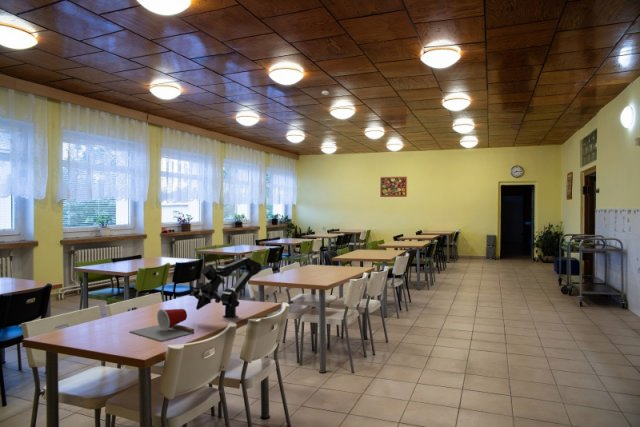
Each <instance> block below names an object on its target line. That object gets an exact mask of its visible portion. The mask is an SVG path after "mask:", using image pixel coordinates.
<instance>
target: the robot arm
mask: <svg viewBox="0 0 640 427" xmlns="http://www.w3.org/2000/svg"><path fill="white" fill-rule="evenodd" d="M243 267H245V271H244V272H243V273H242V275H241V276H240V278H239V279H237V281H236V282H235V283H234V284H233V286H232V287H231V288H225V289H224V291H223V292H222V293H221V295H219V294H218V293H217V292H218V291H219V290H218V289H219V287H220V286H221V284H223V285H225V283H226V281H225V278H227V277H229V276H230V275H232V273H233V272H234V271H236V270H239V269H240V268H243ZM261 271H262V264H261V263H260V262H257V261H255V260H253V259H251V258H250V257H246V256H245V257H242V258H240V259H238V260H235V261H233V262H231V263H229V264H223V265H218V266H216V268H215V267H214V266H213V265H212V264H208V265H207V266H204V267H203V268H202V269H201V272H200V273H201V274H202V275H203V276H204V277H205V279H206V280H207V282H198V281H197V282H196V285H195V289H192V290H191V291H190V294H191V295H192V296H193V297H194V298H195V299H197V303H196V307H195V309H196V311H197V310H198V311H199V310H201V309H202V308H203V307H205V306H207V305H209V304H212V300H214V303H216V304H219V303H221V305H222V306H225V307H224V315H222V318H227V317H233V316H236V315H237V313H236V312H237V308H238V307H239V306H240V301H239V300H238V296H239V293H240V292H241V290H242V289H243V288H244V287H245V285H247V284H248V282H249V281H250V280H251V278H252V277H254V276H256V275H257V274H259V273H260V272H261ZM222 277H223V278H222ZM208 281H209V282H208ZM236 317H237V316H236Z"/></svg>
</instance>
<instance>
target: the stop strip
mask: <svg viewBox="0 0 640 427" xmlns="http://www.w3.org/2000/svg"><path fill="white" fill-rule="evenodd" d="M171 328H175V329H179V330H183V331H187V332H190V333H192V334H194V333H195V328H193V327H189V326H185V325H181V324H176V325H174V326H172V327H171Z"/></svg>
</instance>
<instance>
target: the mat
mask: <svg viewBox="0 0 640 427" xmlns="http://www.w3.org/2000/svg"><path fill="white" fill-rule="evenodd" d="M128 333H131V334H133V335H134V334H135V335H137V336H141V337H144V338H147V339H151V340H154V341H159V342H160V343H162V342H165V341H170V340H174V339H178V338H181V337H185V336H188V335H189V336H190V335H193V333H190V332H187V331H183V330H179V329H175V328H171V327H170V328H169V329H168V330H167V331H164V330H162V329H161V328H160V326H159V324H157V325H151V326H148V327H144V328H143V327H142V328H139V329H134V330H130V331H129V332H128Z"/></svg>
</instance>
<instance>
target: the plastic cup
mask: <svg viewBox="0 0 640 427" xmlns="http://www.w3.org/2000/svg"><path fill="white" fill-rule="evenodd" d="M187 318H188V314H187V311H186V309H184V308H174V309H173V308H171V309H159V310H158V311H157V315H156V319H157V323H158V324H157V325H159V326H160V328H161V329H162V330H164V331H167V330H168V329H169V328H170V327H172V326H174V325H176V324H177V325H179V324H180V323H183V322H184V321H186V320H187Z"/></svg>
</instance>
